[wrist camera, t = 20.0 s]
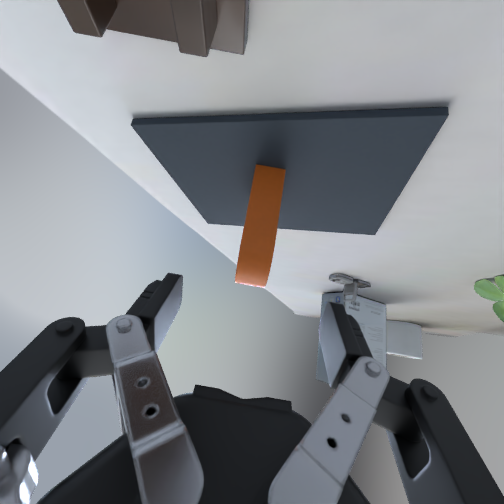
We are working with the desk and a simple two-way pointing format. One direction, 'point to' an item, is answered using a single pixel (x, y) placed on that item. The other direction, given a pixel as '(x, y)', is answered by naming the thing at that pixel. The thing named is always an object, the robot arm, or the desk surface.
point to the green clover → (492, 293)
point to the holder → (166, 21)
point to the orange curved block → (260, 226)
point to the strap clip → (349, 285)
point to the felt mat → (296, 162)
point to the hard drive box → (370, 322)
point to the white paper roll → (404, 339)
